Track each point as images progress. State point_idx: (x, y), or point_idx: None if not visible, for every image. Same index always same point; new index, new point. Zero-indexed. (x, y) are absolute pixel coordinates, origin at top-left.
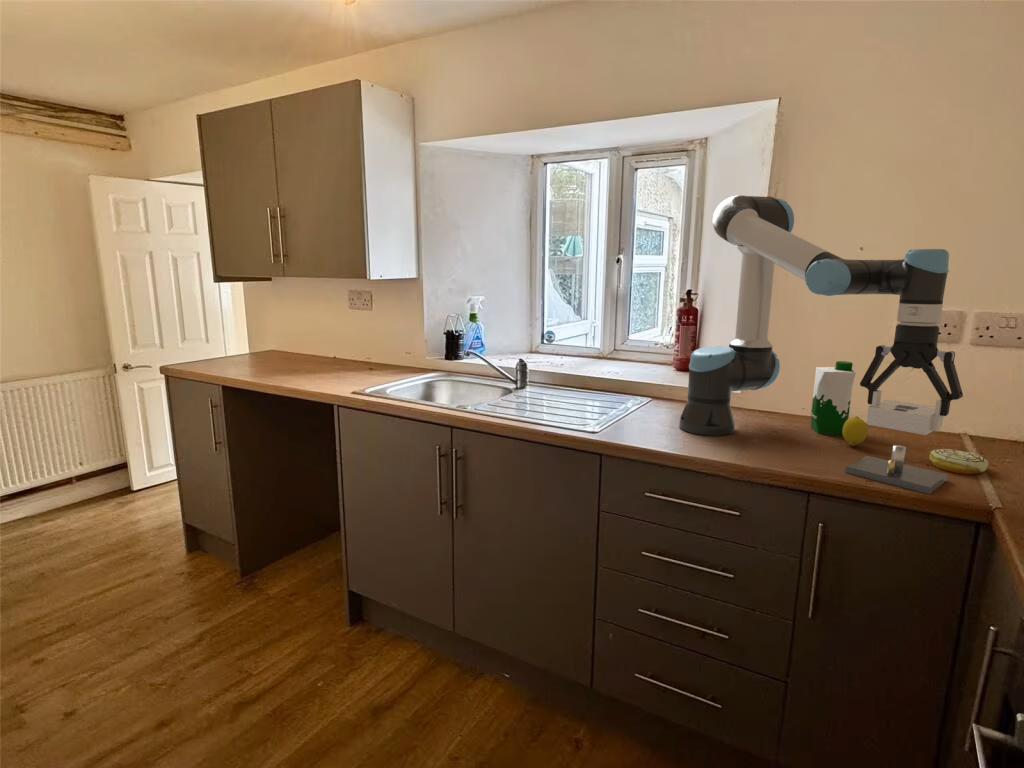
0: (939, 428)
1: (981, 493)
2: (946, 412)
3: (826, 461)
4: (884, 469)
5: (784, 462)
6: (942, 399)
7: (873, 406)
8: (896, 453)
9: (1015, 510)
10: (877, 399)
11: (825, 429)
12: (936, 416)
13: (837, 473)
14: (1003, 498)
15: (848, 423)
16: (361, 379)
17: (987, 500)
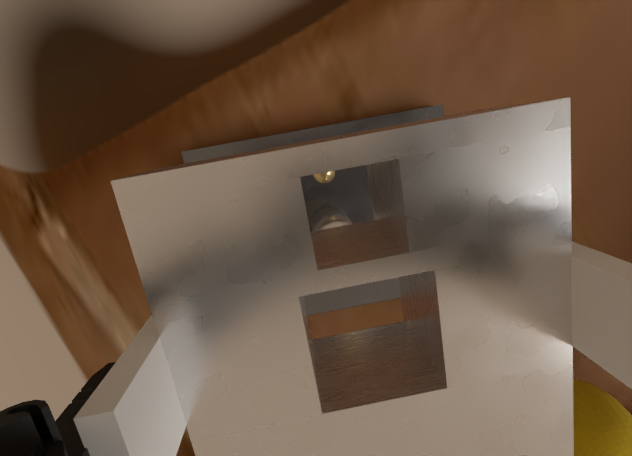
0: None
1: (126, 301)
2: (87, 382)
3: None
4: (353, 196)
5: (613, 7)
6: (24, 418)
7: (545, 142)
8: (334, 219)
9: (5, 244)
10: (598, 297)
11: None
12: (151, 327)
13: (444, 73)
14: (76, 314)
15: (628, 422)
16: None
17: (84, 257)
